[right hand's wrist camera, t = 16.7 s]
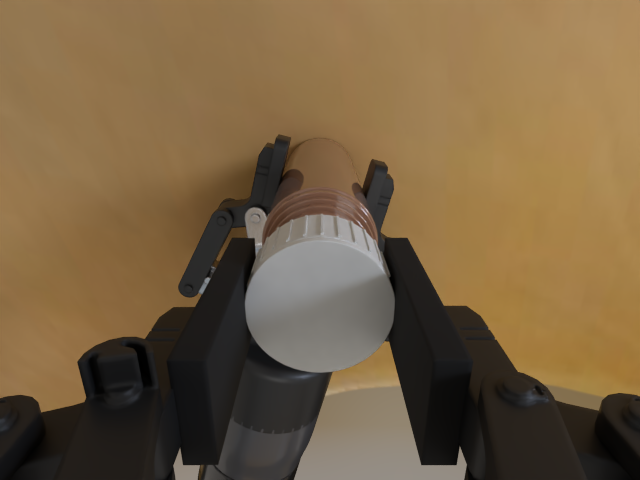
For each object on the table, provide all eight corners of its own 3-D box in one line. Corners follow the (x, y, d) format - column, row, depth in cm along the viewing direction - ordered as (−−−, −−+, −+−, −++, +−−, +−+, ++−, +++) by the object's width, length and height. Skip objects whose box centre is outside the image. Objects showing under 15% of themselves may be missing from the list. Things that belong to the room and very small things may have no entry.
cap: (344, 187, 13) (350, 209, 11) (408, 295, 15) (423, 334, 13) (228, 254, 14) (211, 286, 12) (298, 350, 16) (294, 395, 13)
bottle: (342, 210, 31) (369, 380, 14) (279, 193, 31) (227, 347, 13) (361, 148, 30) (421, 252, 12) (296, 129, 29) (261, 209, 12)
